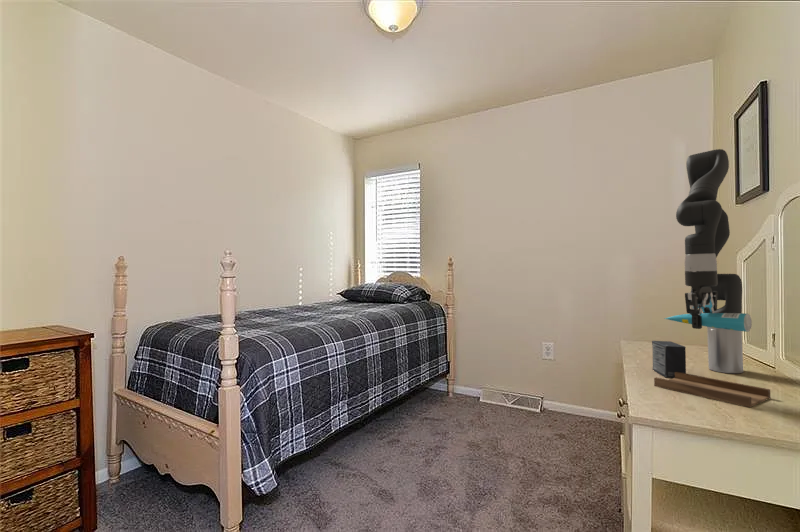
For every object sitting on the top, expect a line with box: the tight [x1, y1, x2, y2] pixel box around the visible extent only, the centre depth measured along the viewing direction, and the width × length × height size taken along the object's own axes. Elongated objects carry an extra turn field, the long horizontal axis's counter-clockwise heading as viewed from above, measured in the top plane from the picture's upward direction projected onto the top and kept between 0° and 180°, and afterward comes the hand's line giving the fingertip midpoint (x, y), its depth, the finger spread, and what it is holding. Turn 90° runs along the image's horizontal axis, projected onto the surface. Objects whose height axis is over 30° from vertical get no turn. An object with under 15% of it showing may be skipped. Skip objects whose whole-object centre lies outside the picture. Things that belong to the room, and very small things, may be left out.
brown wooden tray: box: [653, 372, 772, 408], centre depth 114 cm, size 13×23×2 cm, turn 29°
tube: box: [663, 312, 753, 333], centre depth 114 cm, size 7×5×19 cm
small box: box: [651, 340, 687, 379], centre depth 133 cm, size 11×6×10 cm, turn 168°
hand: (702, 327), depth 115 cm, fingers closed on tube, 6 cm apart
